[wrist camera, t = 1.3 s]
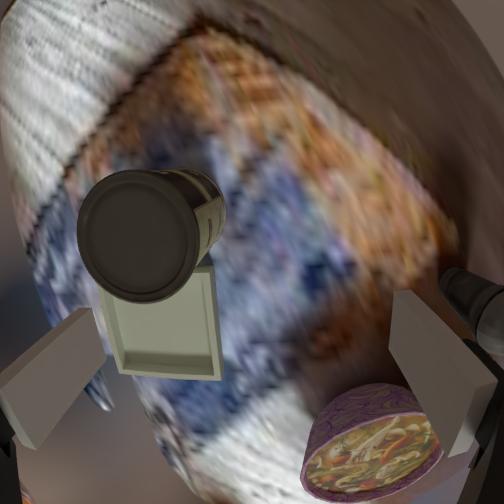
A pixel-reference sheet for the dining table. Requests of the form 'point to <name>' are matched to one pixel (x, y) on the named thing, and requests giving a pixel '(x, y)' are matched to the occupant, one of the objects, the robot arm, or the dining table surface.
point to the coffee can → (148, 231)
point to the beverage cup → (476, 306)
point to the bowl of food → (368, 445)
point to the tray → (168, 332)
